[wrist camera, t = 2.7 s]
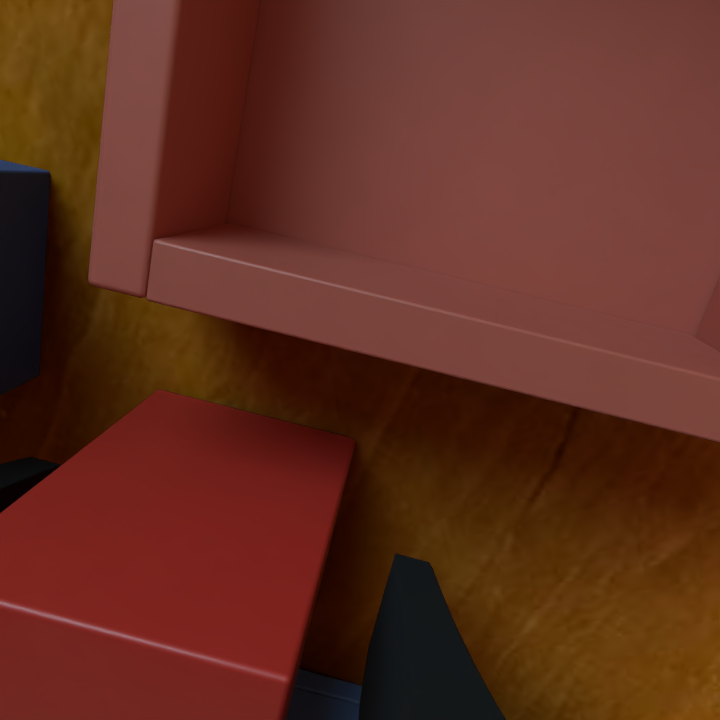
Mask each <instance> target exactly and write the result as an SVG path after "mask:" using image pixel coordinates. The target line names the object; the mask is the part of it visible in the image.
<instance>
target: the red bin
mask: <svg viewBox="0 0 720 720" xmlns="http://www.w3.org/2000/svg"><path fill="white" fill-rule="evenodd" d="M88 280H89V283H90V284H92V285H93V286H95V287H99V288H103V289H107V290H111V291H115V292H119V293H123V294H127V295H131V296H135V297H139V298H142V297H147V300H149V301H151V302H155V303H159V304H163V305H167V306H171V307H175V308H179V309H183V310H187V311H191V312H195V313H199V314H203V315H207V316H211V317H215V318H219V319H224V320H228V321H232V322H236V323H240V324H244V325H248V326H252V327H256V328H260V329H264V330H268V331H272V332H276V333H280V334H284V335H288V336H292V337H296V338H300V339H304V340H308V341H312V342H316V343H320V344H324V345H328V346H332V347H336V348H340V349H344V350H348V351H352V352H356V353H360V354H364V355H368V356H372V357H376V358H380V359H384V360H389V361H393V362H397V363H401V364H405V365H409V366H413V367H417V368H421V369H425V370H429V371H433V372H437V373H441V374H445V375H449V376H453V377H457V378H461V379H465V380H469V381H473V382H477V383H481V384H485V385H489V386H493V387H497V388H501V389H505V390H509V391H513V392H517V393H521V394H525V395H529V396H533V397H537V398H541V399H545V400H549V401H554V402H558V403H562V404H566V405H570V406H574V407H578V408H582V409H586V410H590V411H594V412H598V413H602V414H606V415H610V416H614V417H618V418H622V419H626V420H630V421H634V422H638V423H642V424H646V425H650V426H654V427H658V428H662V429H666V430H670V431H674V432H678V433H682V434H686V435H690V436H694V437H698V438H702V439H706V440H710V441H714V442H719V443H720V0H114V1H113V12H112V23H111V34H110V45H109V56H108V67H107V78H106V88H105V99H104V110H103V121H102V132H101V143H100V154H99V165H98V176H97V187H96V198H95V209H94V220H93V231H92V242H91V252H90V263H89V274H88Z"/></svg>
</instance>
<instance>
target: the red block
mask: <svg viewBox="0 0 720 720" xmlns="http://www.w3.org/2000/svg"><path fill="white" fill-rule="evenodd" d="M354 447H355V439H353V438H350V437H346V436H342V435H338V434H334V433H330V432H326V431H322V430H318V429H314V428H310V427H306V426H302V425H298V424H294V423H290V422H286V421H282V420H279V419H275V418H271V417H267V416H263V415H259V414H255V413H251V412H247V411H243V410H239V409H235V408H231V407H227V406H223V405H219V404H215V403H211V402H207V401H204V400H200V399H196V398H192V397H188V396H184V395H180V394H176V393H172V392H168V391H164V390H157V391H155V392H154V393H153V394H152V395H150V396H149V397H148V398H147V399H145V400H144V401H143V402H141V403H140V404H139V405H138V406H136V407H135V408H134V409H133V410H131V411H130V412H129V413H127V414H126V415H125V416H124V417H122V418H121V419H120V420H118V421H117V422H116V423H115V424H113V425H112V426H111V427H110V428H108V429H107V430H106V431H104V432H103V433H102V434H101V435H99V436H98V437H97V438H96V439H94V440H93V441H92V442H90V443H89V444H88V445H87V446H85V447H84V448H83V449H81V450H80V451H79V452H78V453H76V454H75V455H74V456H73V457H71V458H70V459H69V460H67V461H66V462H65V463H64V464H62V465H61V466H60V467H59V468H57V469H56V470H55V471H53V472H52V473H51V474H50V475H48V476H47V477H46V478H44V479H43V480H42V481H41V482H39V483H38V484H37V485H36V486H34V487H33V488H32V489H30V490H29V491H28V492H27V493H25V494H24V495H23V496H22V497H20V498H19V499H18V500H16V501H15V502H14V503H13V504H11V505H10V506H9V507H8V508H6V509H5V510H4V511H2V512H1V513H0V720H286V718H287V714H288V710H289V706H290V702H291V698H292V695H293V691H294V687H295V683H296V679H297V675H298V671H299V667H300V664H301V660H302V656H303V652H304V648H305V644H306V640H307V637H308V633H309V629H310V625H311V621H312V617H313V613H314V609H315V606H316V601H317V597H318V593H319V589H320V585H321V581H322V577H323V573H324V569H325V565H326V561H327V557H328V553H329V549H330V545H331V541H332V537H333V533H334V528H335V524H336V520H337V516H338V512H339V508H340V504H341V500H342V496H343V492H344V488H345V484H346V480H347V476H348V472H349V468H350V464H351V459H352V455H353V451H354Z"/></svg>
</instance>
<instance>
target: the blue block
mask: <svg viewBox="0 0 720 720" xmlns="http://www.w3.org/2000/svg"><path fill="white" fill-rule="evenodd" d="M49 189H50V172H49V171H47V170H43V169H38V168H34V167H29V166H25V165H21V164H16V163H12V162H8V161H3V160H0V395H2V394H4V393H6V392H8V391H10V390H12V389H14V388H16V387H18V386H20V385H21V384H23V383H25V382H27V381H29V380H31V379H33V378H35V377H37V376H38V375H39V368H40V350H41V332H42V314H43V296H44V278H45V260H46V242H47V224H48V206H49Z"/></svg>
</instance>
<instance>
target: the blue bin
mask: <svg viewBox="0 0 720 720" xmlns="http://www.w3.org/2000/svg"><path fill="white" fill-rule="evenodd" d="M361 690H362V686H361V685H357V684H354V683H350V682H346V681H342V680H339V679H335V678H331V677H327V676H324V675H320V674H316V673H312V672H309V671H305V670H301V669H299V671H298V675H297V679H296V683H295V687H294V691H293V695H292V698H291V702H290V706H289V710H288V714H287V718H286V720H358V718H359V703H360V696H361Z"/></svg>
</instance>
